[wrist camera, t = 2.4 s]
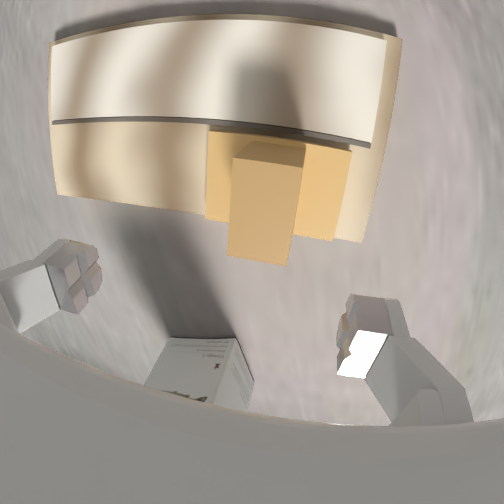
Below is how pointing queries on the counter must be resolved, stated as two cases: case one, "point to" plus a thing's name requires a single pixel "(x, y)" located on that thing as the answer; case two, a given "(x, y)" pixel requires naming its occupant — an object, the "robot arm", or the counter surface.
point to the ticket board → (215, 103)
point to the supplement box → (204, 372)
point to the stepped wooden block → (273, 191)
